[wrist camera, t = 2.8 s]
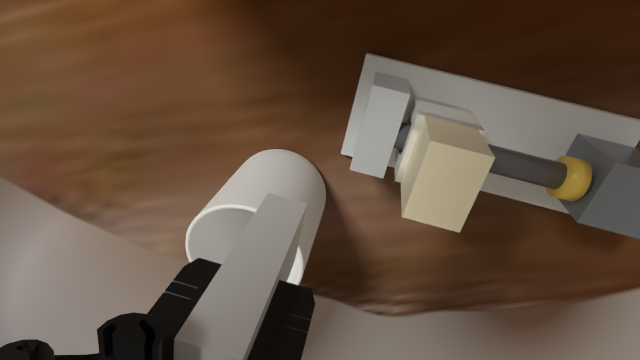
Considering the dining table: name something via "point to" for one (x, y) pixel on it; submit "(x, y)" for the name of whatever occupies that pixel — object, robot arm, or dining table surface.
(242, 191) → the cup
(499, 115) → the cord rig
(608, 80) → the dining table surface
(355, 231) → the dining table surface
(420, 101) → the sleeve
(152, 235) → the dining table surface
